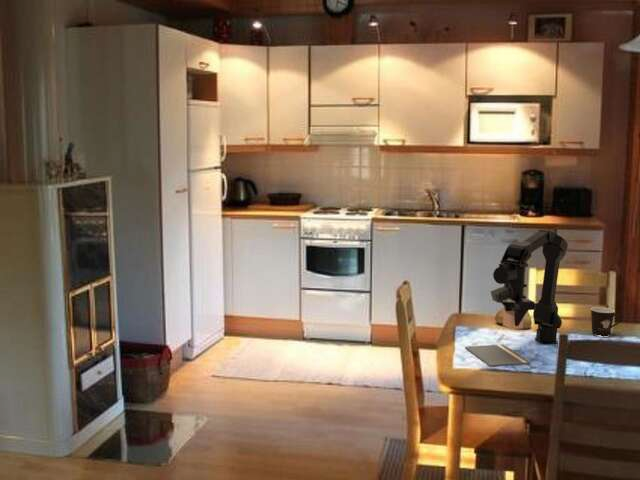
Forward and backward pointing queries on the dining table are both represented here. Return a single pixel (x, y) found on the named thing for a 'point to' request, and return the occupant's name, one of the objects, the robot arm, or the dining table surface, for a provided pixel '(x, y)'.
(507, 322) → the terracotta block
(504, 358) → the mat
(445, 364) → the dining table surface
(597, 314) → the coffee mug
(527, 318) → the bread roll
